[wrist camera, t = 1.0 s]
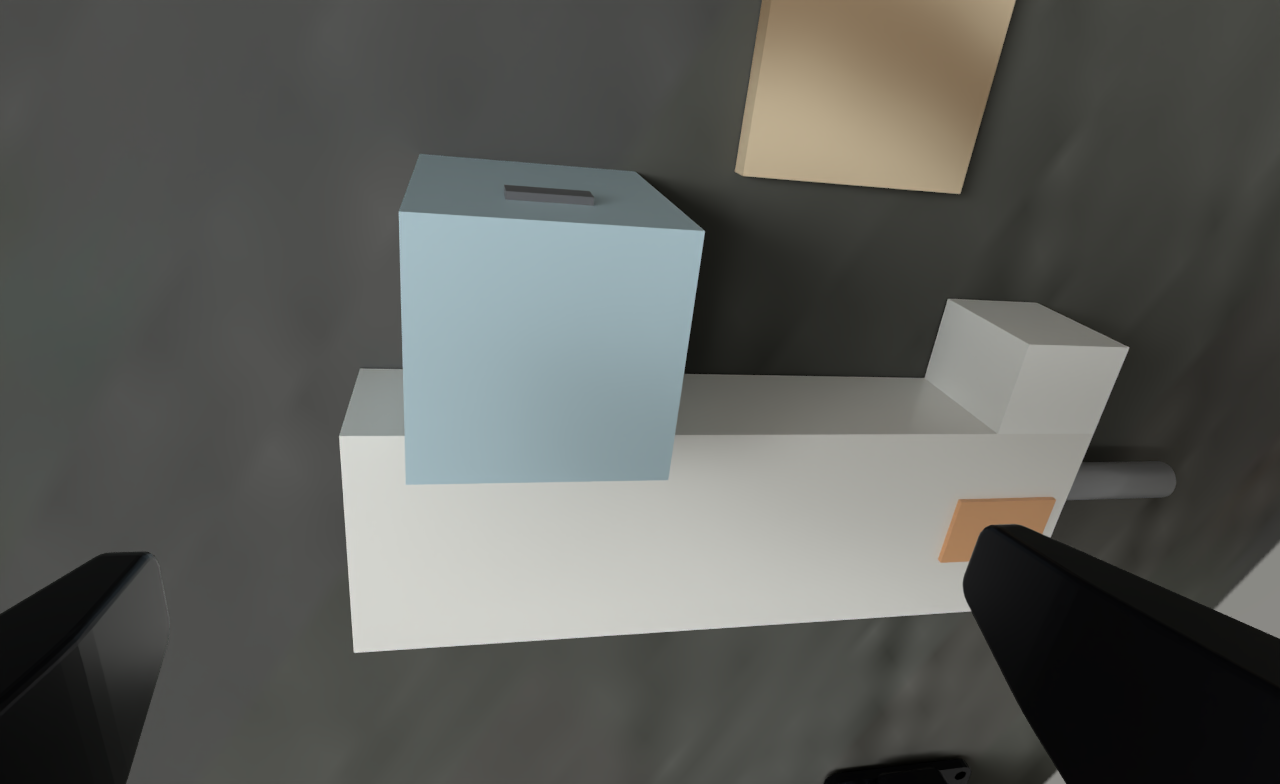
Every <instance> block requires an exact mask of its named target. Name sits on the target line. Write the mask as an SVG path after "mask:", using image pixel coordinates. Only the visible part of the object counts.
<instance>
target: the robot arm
mask: <svg viewBox="0 0 1280 784" xmlns="http://www.w3.org/2000/svg"><path fill="white" fill-rule="evenodd" d="M962 585H963V593H964V597H965V599H966V602H967V604H968V606H969V608H970V610H971V612H972V614H973V616H974V618H975V620H976V622H977V624H978V626H979V628H980V630H981V631H982V633H983V635H984V637H985V639H986V641H987V643H988V645H989V647H990V649H991V651H992V653H993V655H994V657H995V659H996V661H997V663H998V665H999V667H1000V669H1001V671H1002V673H1003V675H1004V677H1005V679H1006V681H1007V683H1008V685H1009V687H1010V689H1011V691H1012V693H1013V695H1014V697H1015V699H1016V701H1017V703H1018V705H1019V706H1020V708H1021V710H1022V712H1023V714H1024V715H1025V717H1026V719H1027V721H1028V722H1029V724H1030V726H1031V727H1032V729H1033V731H1034V732H1035V734H1036V736H1037V737H1038V739H1039V740H1040V742H1041V744H1042V745H1043V747H1044V749H1045V750H1046V752H1047V753H1048V755H1049V757H1050V758H1051V760H1052V762H1053V763H1054V765H1055V766H1056V768H1057V770H1058V771H1059V773H1060V774H1061V776H1062V778H1063V779H1064V781H1065V782H1066V784H1280V639H1279V638H1277V637H1274V636H1272V635H1270V634H1267V633H1265V632H1263V631H1261V630H1258V629H1256V628H1254V627H1252V626H1249V625H1247V624H1245V623H1242V622H1240V621H1238V620H1236V619H1233V618H1231V617H1229V616H1227V615H1224V614H1222V613H1220V612H1218V611H1215V610H1213V609H1211V608H1209V607H1206V606H1204V605H1202V604H1199V603H1197V602H1195V601H1193V600H1190V599H1188V598H1186V597H1184V596H1181V595H1179V594H1177V593H1175V592H1172V591H1170V590H1168V589H1165V588H1163V587H1161V586H1159V585H1156V584H1154V583H1152V582H1150V581H1147V580H1145V579H1143V578H1141V577H1138V576H1136V575H1134V574H1131V573H1129V572H1127V571H1125V570H1122V569H1120V568H1118V567H1116V566H1113V565H1111V564H1109V563H1107V562H1104V561H1102V560H1100V559H1097V558H1095V557H1093V556H1091V555H1088V554H1086V553H1084V552H1082V551H1079V550H1077V549H1075V548H1072V547H1070V546H1068V545H1066V544H1063V543H1061V542H1059V541H1057V540H1054V539H1052V538H1050V537H1048V536H1045V535H1043V534H1041V533H1038V532H1036V531H1034V530H1032V529H1029V528H1027V527H1025V526H1022V525H1018V524H999V525H989V526H987V527H985V528H984V529H983V530H982V531H981V532H980V534H979V536H978V539H977V542H976V544H975V547H974V550H973V552H972V555H971V558H970V560H969V563H968V566H967V569H966V571H965V574H964V577H963V584H962ZM169 632H170V620H169V614H168V609H167V603H166V598H165V593H164V588H163V583H162V578H161V572H160V567H159V564H158V561H157V559H156V558H155V556H154V555H152V554H151V553H149V552H114V553H104V554H100V555H99V556H97V557H95V558H93V559H91V560H90V561H88V562H86V563H85V564H83V565H81V566H80V567H78V568H76V569H75V570H73V571H71V572H70V573H68V574H66V575H65V576H63V577H61V578H60V579H58V580H56V581H55V582H53V583H51V584H50V585H48V586H46V587H45V588H43V589H41V590H40V591H38V592H36V593H35V594H33V595H31V596H30V597H28V598H26V599H25V600H23V601H21V602H20V603H18V604H16V605H15V606H13V607H11V608H10V609H8V610H6V611H5V612H3V613H1V614H0V784H126V782H127V779H128V776H129V773H130V769H131V766H132V762H133V759H134V756H135V752H136V749H137V746H138V742H139V739H140V736H141V732H142V729H143V726H144V722H145V719H146V715H147V712H148V709H149V705H150V702H151V699H152V695H153V692H154V689H155V685H156V682H157V679H158V675H159V672H160V668H161V665H162V662H163V658H164V655H165V652H166V648H167V645H168V640H169ZM970 775H971V769H970V768H969V766H968V765H967V763H966V762H965V760H963V759H954V760H945V761H937V762H929V763H920V764H912V765H904V766H895V767H887V768H879V769H870V770H862V771H854V772H845V773H838V774H834V775H832V776H830V777H829V778H827V779H826V781H825V782H824V784H967V782H968V780H969V777H970Z"/></svg>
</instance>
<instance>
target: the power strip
mask: <svg viewBox="0 0 1280 784" xmlns="http://www.w3.org/2000/svg"><path fill="white" fill-rule="evenodd" d="M1129 348H1130V347H1128V346H1125V345H1123V344H1121V343H1119V342H1117V341H1115V340H1113V339H1111V338H1109V337H1107V336H1105V335H1103V334H1101V333H1099V332H1096V331H1094V330H1092V329H1090V328H1088V327H1086V326H1084V325H1082V324H1080V323H1078V322H1076V321H1074V320H1072V319H1070V318H1068V317H1065V316H1063V315H1061V314H1059V313H1057V312H1055V311H1053V310H1051V309H1049V308H1047V307H1045V306H1043V305H1041V304H1039V303H1034V302H1012V301H990V300H968V299H948V300H947V304H946V307H945V310H944V314H943V317H942V320H941V324H940V327H939V331H938V334H937V337H936V341H935V344H934V347H933V351H932V354H931V357H930V361H929V364H928V368H927V371H926V374H925V378H898V377H839V376H780V375H721V374H684V377H683V384H682V391H681V397H680V404H679V411H678V418H677V424H676V431H675V438H674V445H673V451H672V458H671V465H670V472H669V478H668V480H647V481H591V482H535V483H479V484H423V485H406V472H405V433H404V394H403V369H366V368H360V371H359V374H358V377H357V380H356V383H355V387H354V390H353V393H352V396H351V400H350V403H349V406H348V409H347V413H346V416H345V419H344V422H343V425H342V429H341V432H340V435H339V441H340V455H341V470H342V485H343V500H344V514H345V529H346V544H347V559H348V573H349V588H350V603H351V617H352V632H353V647H354V653H359V652H373V651H388V650H403V649H418V648H433V647H448V646H463V645H478V644H492V643H507V642H522V641H537V640H552V639H567V638H582V637H596V636H611V635H626V634H641V633H656V632H671V631H686V630H701V629H715V628H730V627H745V626H760V625H775V624H790V623H805V622H820V621H834V620H849V619H864V618H879V617H894V616H909V615H924V614H938V613H953V612H968V611H971V610H970V608H969V606H968V604H967V602H966V599H965V597H964V593H963V585H962V584H963V577H964V574H965V571H966V569H967V566H968V563H969V560H970V558H971V555H972V552H973V550H974V547H975V544H976V542H977V539H978V536H979V534H980V532H981V531H982V530H983V529H984V528H985V527H987V526H989V525H999V524H1018V525H1022V526H1025V527H1027V528H1029V529H1032V530H1034V531H1036V532H1038V533H1041V534H1043V535H1045V536H1048V537H1051V535H1052V533H1053V530H1054V528H1055V525H1056V523H1057V521H1058V518H1059V516H1060V513H1061V511H1062V509H1063V506H1064V504H1065V501H1066V500H1092V499H1128V498H1163V497H1167V496H1169V495H1170V494H1171V493H1172V492H1173V491H1174V489H1175V486H1176V476H1175V473H1174V471H1173V470H1172V468H1171V467H1170V466H1169V465H1168V464H1166V463H1164V462H1161V461H1132V462H1082V461H1083V458H1084V456H1085V453H1086V451H1087V449H1088V446H1089V444H1090V441H1091V439H1092V437H1093V434H1094V432H1095V429H1096V427H1097V425H1098V422H1099V420H1100V417H1101V415H1102V413H1103V410H1104V408H1105V405H1106V403H1107V400H1108V398H1109V396H1110V393H1111V391H1112V388H1113V386H1114V384H1115V381H1116V379H1117V376H1118V374H1119V372H1120V369H1121V367H1122V364H1123V362H1124V360H1125V357H1126V355H1127V352H1128V350H1129Z"/></svg>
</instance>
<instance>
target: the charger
mask: <svg viewBox="0 0 1280 784" xmlns="http://www.w3.org/2000/svg"><path fill="white" fill-rule="evenodd" d="M704 235H705V231H704V230H703V229H702V228H701V227H700V226H698V225H697V224H696V223H695V222H694V221H693V220H691V219H690V218H689V217H688V216H687V215H686V214H684V213H683V212H682V211H681V210H680V209H679V208H677V207H676V206H675V205H674V204H673V203H671V202H670V201H669V200H668V199H667V198H666V197H664V196H663V195H662V194H661V193H660V192H659V191H657V190H656V189H655V188H654V187H653V186H652V185H650V184H649V183H648V182H647V181H646V180H645V179H643V178H642V177H641V176H640V175H639V174H637V173H636V172H634V171H621V170H609V169H597V168H585V167H573V166H561V165H548V164H536V163H524V162H512V161H500V160H487V159H475V158H463V157H451V156H439V155H427V154H420V155H419V157H418V160H417V163H416V166H415V168H414V171H413V174H412V177H411V179H410V182H409V185H408V188H407V190H406V193H405V196H404V199H403V201H402V204H401V207H400V210H399V237H400V277H401V316H402V355H403V394H404V433H405V472H406V485H423V484H479V483H535V482H591V481H647V480H668V478H669V472H670V465H671V458H672V451H673V445H674V438H675V431H676V424H677V418H678V411H679V404H680V397H681V391H682V384H683V377H684V370H685V363H686V357H687V350H688V343H689V336H690V330H691V323H692V316H693V309H694V303H695V296H696V289H697V282H698V276H699V269H700V262H701V255H702V248H703V242H704Z"/></svg>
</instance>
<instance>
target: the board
mask: <svg viewBox="0 0 1280 784" xmlns="http://www.w3.org/2000/svg"><path fill="white" fill-rule="evenodd" d="M1015 1H1016V0H762V4H761V11H760V17H759V23H758V30H757V36H756V42H755V48H754V55H753V61H752V67H751V73H750V80H749V86H748V92H747V99H746V105H745V111H744V117H743V124H742V130H741V136H740V143H739V149H738V155H737V161H736V168H735V172H736V173H738V174H740V175H742V176H749V177H761V178H773V179H785V180H797V181H809V182H821V183H833V184H845V185H857V186H869V187H881V188H893V189H905V190H917V191H929V192H941V193H953V194H960V193H961V190H962V186H963V183H964V179H965V176H966V172H967V169H968V165H969V162H970V158H971V155H972V151H973V148H974V144H975V141H976V137H977V134H978V130H979V127H980V123H981V120H982V116H983V113H984V109H985V106H986V102H987V99H988V95H989V92H990V88H991V85H992V81H993V78H994V74H995V71H996V67H997V64H998V60H999V57H1000V53H1001V50H1002V46H1003V43H1004V40H1005V36H1006V33H1007V29H1008V26H1009V22H1010V19H1011V15H1012V12H1013V8H1014V5H1015Z"/></svg>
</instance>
